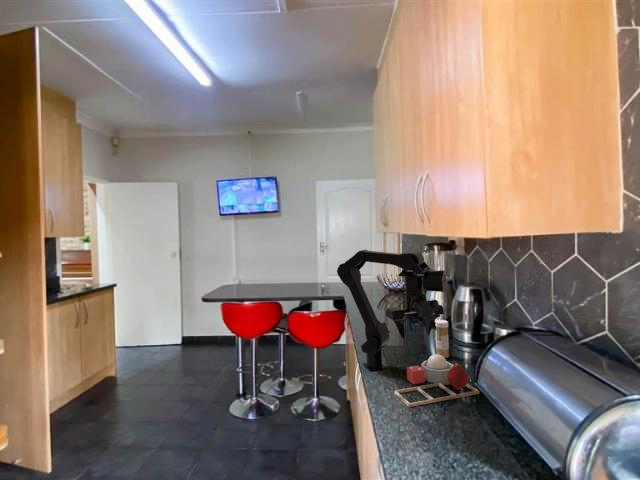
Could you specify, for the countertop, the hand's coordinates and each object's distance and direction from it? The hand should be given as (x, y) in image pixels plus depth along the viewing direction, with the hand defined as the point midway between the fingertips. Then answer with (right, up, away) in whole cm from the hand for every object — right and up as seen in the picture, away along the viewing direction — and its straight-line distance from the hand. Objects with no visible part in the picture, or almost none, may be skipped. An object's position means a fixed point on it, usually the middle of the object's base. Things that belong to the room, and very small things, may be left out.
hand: (415, 336), depth 121 cm
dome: (+7, -11, -2) cm, 13 cm away
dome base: (+4, -13, -2) cm, 14 cm away
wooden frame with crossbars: (+3, -13, -13) cm, 19 cm away
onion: (+10, -13, -11) cm, 20 cm away
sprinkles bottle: (+15, -12, +17) cm, 25 cm away
